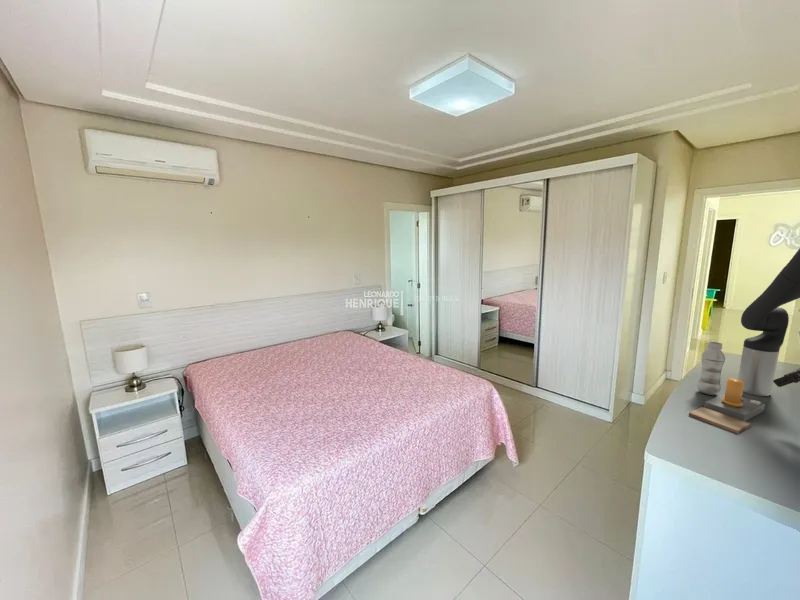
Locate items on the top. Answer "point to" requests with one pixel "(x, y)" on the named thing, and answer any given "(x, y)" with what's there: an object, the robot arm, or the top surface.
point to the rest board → (720, 420)
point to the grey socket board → (741, 413)
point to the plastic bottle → (711, 369)
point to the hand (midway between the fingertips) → (781, 381)
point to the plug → (733, 393)
